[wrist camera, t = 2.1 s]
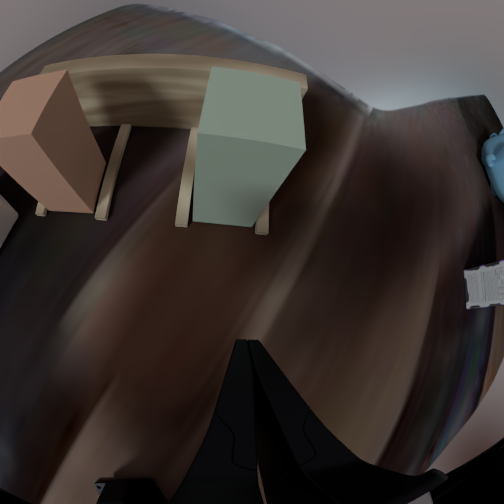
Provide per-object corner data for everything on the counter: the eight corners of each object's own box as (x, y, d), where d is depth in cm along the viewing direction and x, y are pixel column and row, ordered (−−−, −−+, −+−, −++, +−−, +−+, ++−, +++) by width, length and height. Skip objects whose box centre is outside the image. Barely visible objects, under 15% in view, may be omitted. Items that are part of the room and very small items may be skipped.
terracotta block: (93, 213, 21) (31, 133, 9) (49, 210, 20) (-22, 142, 8) (106, 163, 22) (67, 69, 10) (63, 163, 21) (12, 81, 9)
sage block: (251, 227, 23) (305, 150, 12) (192, 221, 22) (197, 132, 11) (253, 175, 25) (299, 82, 13) (199, 169, 24) (211, 66, 12)
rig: (278, 236, 24) (317, 201, 16) (30, 215, 19) (-15, 180, 12) (278, 126, 27) (305, 74, 19) (67, 114, 22) (45, 65, 14)
